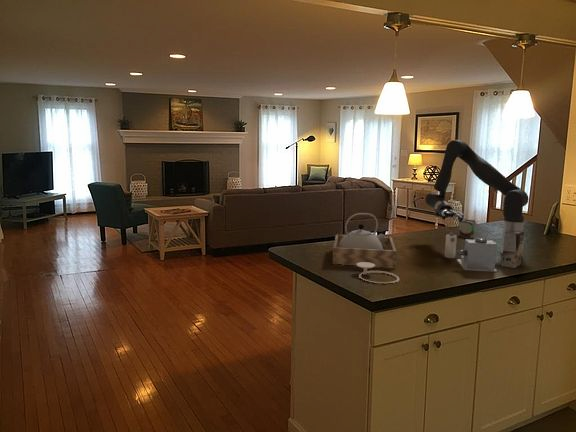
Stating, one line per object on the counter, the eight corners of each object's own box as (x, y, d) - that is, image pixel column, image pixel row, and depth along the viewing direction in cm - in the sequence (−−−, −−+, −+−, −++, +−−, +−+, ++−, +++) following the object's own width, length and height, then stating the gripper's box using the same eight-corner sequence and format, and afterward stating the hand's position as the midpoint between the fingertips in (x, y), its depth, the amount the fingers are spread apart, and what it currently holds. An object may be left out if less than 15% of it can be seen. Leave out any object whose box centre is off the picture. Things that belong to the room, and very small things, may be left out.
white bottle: (454, 256, 237) (455, 231, 235) (456, 259, 231) (458, 234, 229) (443, 255, 238) (445, 231, 236) (446, 258, 232) (448, 234, 230)
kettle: (371, 251, 245) (373, 208, 241) (396, 262, 224) (399, 215, 220) (328, 254, 236) (330, 210, 232) (350, 266, 215) (352, 218, 211)
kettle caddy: (390, 252, 242) (391, 237, 241) (395, 268, 213) (396, 251, 211) (335, 249, 246) (335, 234, 245) (332, 264, 217) (333, 247, 215)
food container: (480, 238, 281) (481, 222, 279) (471, 239, 278) (473, 222, 277) (465, 234, 292) (466, 218, 290) (457, 235, 290) (458, 219, 288)
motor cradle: (486, 262, 227) (489, 234, 224) (497, 271, 210) (499, 241, 208) (450, 260, 229) (452, 232, 227) (457, 269, 212) (459, 239, 210)
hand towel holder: (379, 277, 185) (344, 265, 201) (379, 288, 186) (344, 275, 202) (408, 270, 194) (372, 259, 211) (408, 281, 195) (372, 269, 212)
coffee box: (515, 268, 216) (519, 234, 214) (501, 265, 220) (504, 232, 218) (520, 264, 223) (524, 231, 221) (506, 262, 227) (509, 229, 225)
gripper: (432, 201, 254) (440, 210, 239) (458, 203, 255) (468, 213, 239) (429, 214, 257) (437, 224, 242) (454, 216, 257) (465, 227, 242)
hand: (453, 218), depth 241 cm, fingers open, 8 cm apart
